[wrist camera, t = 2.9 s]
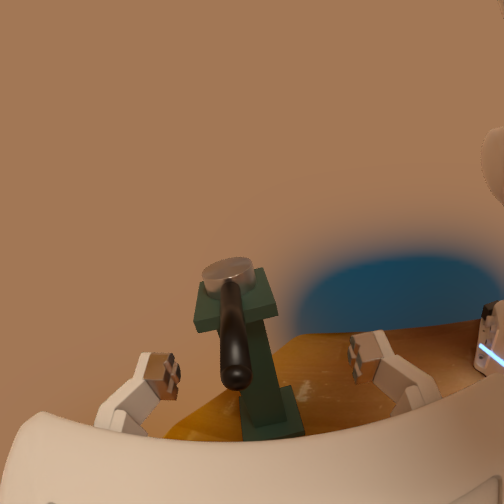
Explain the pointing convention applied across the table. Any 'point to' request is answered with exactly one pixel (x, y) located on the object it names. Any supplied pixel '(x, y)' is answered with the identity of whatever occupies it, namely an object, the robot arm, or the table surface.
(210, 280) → the scoop
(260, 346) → the stand
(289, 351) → the table surface
